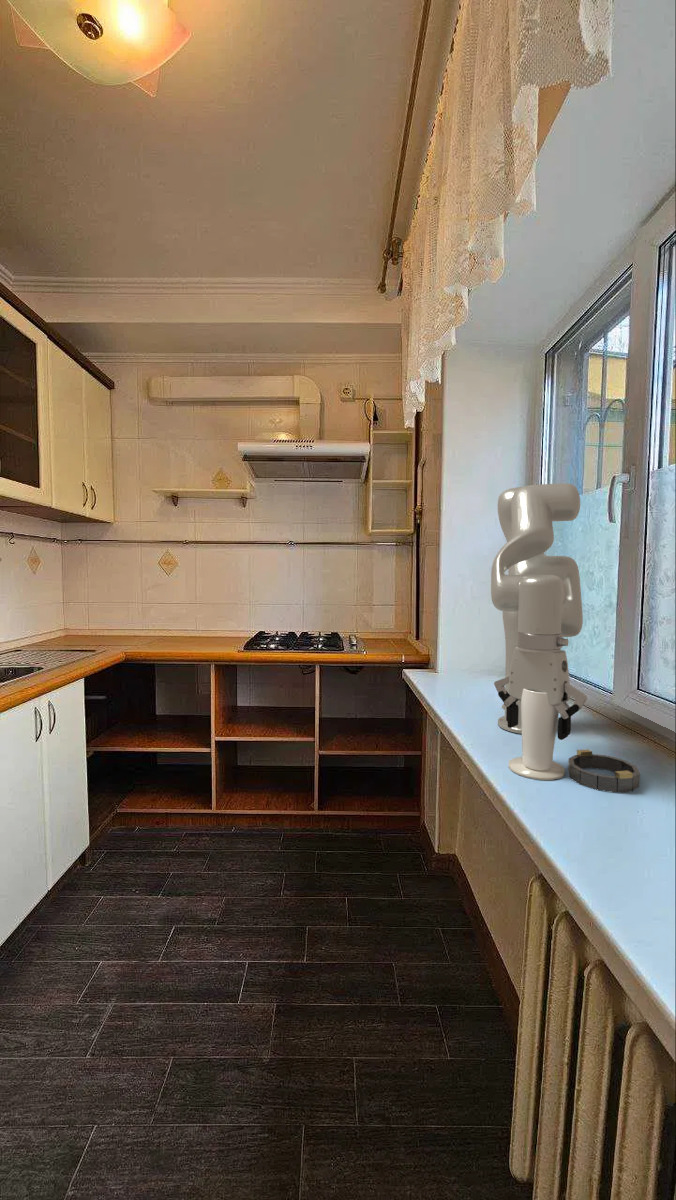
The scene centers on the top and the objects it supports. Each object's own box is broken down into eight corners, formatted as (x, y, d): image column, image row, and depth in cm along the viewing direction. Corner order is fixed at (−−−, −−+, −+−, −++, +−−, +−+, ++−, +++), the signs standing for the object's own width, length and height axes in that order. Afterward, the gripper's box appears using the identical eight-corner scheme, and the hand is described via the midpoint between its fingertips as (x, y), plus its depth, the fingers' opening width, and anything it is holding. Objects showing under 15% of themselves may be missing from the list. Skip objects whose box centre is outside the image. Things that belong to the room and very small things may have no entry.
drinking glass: (519, 757, 100) (522, 682, 99) (556, 763, 98) (560, 686, 97) (516, 769, 94) (519, 690, 93) (555, 776, 91) (559, 694, 90)
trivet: (499, 761, 100) (499, 758, 100) (545, 758, 102) (545, 755, 102) (525, 782, 90) (526, 779, 90) (576, 778, 92) (576, 775, 92)
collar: (555, 768, 97) (555, 751, 96) (608, 764, 98) (608, 747, 98) (596, 795, 85) (596, 776, 85) (654, 790, 87) (655, 771, 87)
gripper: (595, 645, 91) (592, 738, 92) (505, 636, 103) (503, 718, 104) (579, 649, 86) (576, 748, 87) (486, 639, 98) (485, 726, 99)
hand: (537, 731), depth 96 cm, fingers open, 9 cm apart
